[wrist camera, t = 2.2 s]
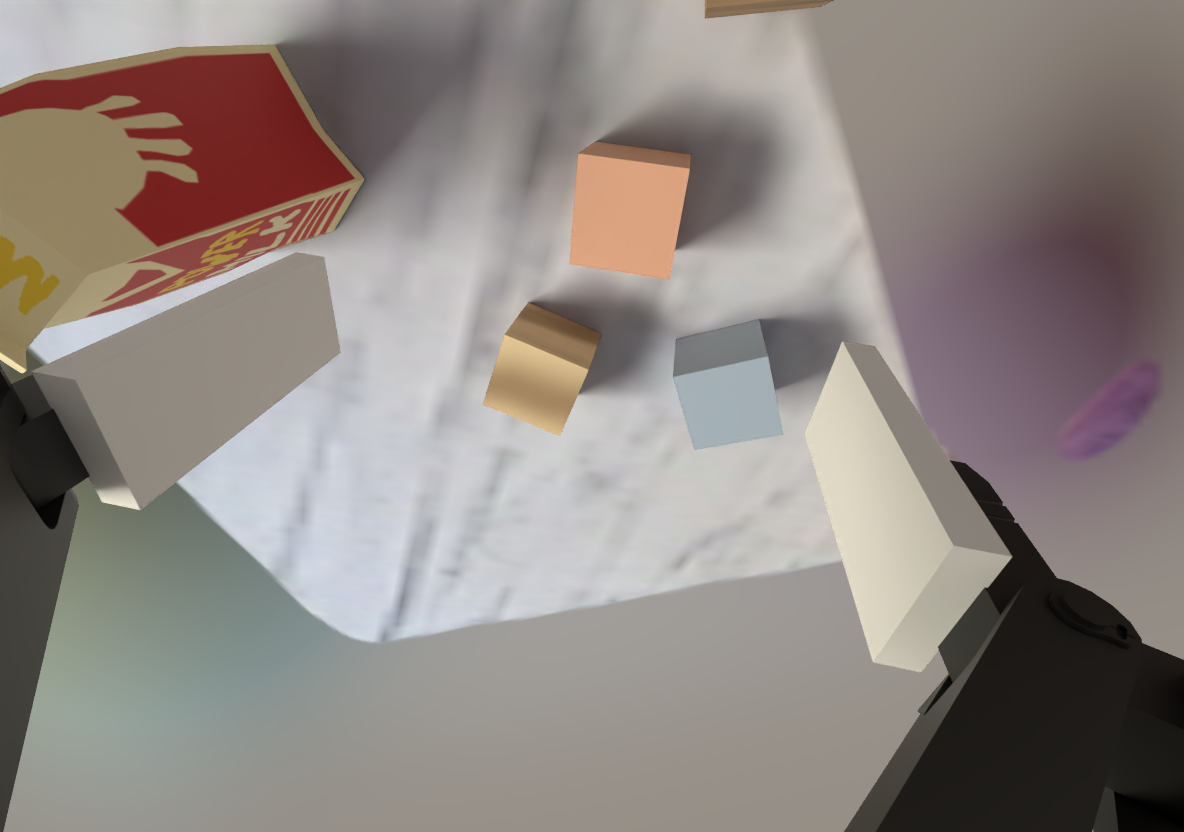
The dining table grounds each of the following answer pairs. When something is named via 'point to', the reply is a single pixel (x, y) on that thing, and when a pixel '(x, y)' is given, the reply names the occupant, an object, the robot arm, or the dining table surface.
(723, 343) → the slate blue cube
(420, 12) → the dining table surface
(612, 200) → the terracotta cube
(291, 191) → the milk carton
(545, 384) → the oak cube
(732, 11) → the walnut cube
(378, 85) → the dining table surface
